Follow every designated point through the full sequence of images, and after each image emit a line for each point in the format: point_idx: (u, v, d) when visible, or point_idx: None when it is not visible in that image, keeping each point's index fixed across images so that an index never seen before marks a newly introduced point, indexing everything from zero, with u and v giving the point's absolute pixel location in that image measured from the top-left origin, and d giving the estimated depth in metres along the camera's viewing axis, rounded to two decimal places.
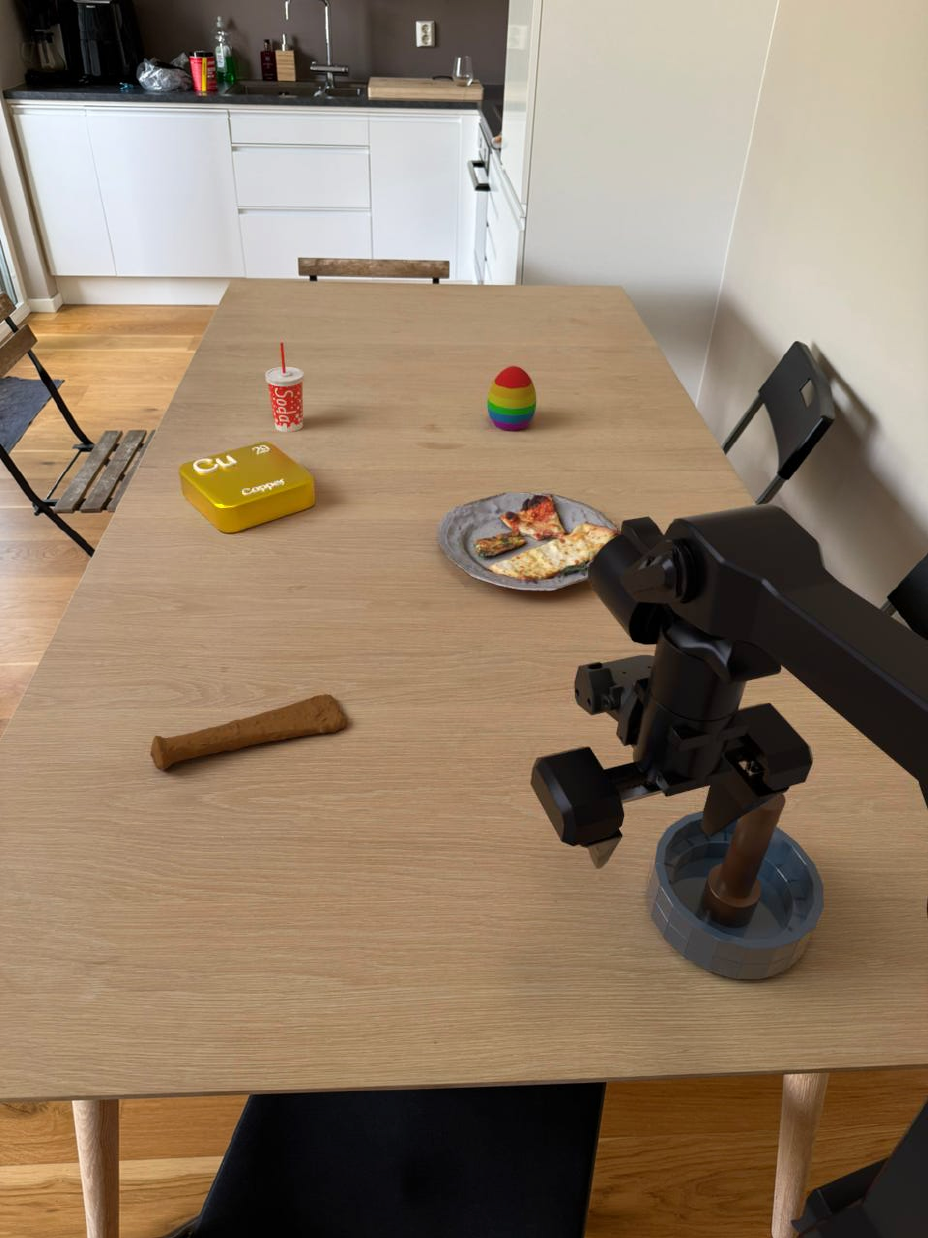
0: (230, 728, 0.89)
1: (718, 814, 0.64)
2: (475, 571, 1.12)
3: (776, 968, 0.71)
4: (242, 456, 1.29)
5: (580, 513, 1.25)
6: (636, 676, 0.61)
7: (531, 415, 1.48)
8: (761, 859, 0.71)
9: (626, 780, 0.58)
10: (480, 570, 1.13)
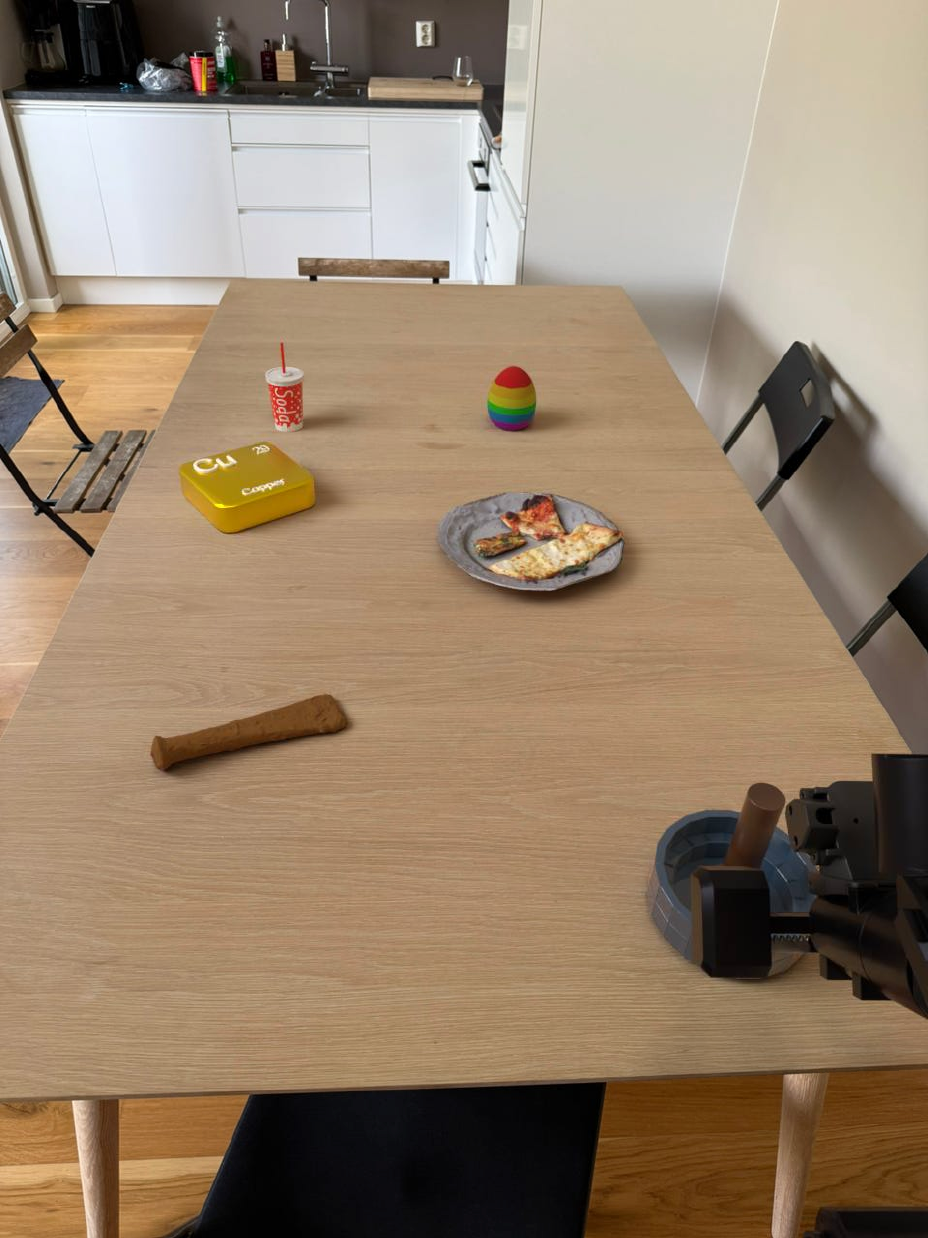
0: (230, 728, 0.89)
1: None
2: (475, 571, 1.12)
3: (776, 968, 0.71)
4: (242, 456, 1.29)
5: (580, 513, 1.25)
6: (866, 838, 0.51)
7: (531, 415, 1.48)
8: (761, 859, 0.71)
9: None
10: (480, 570, 1.13)
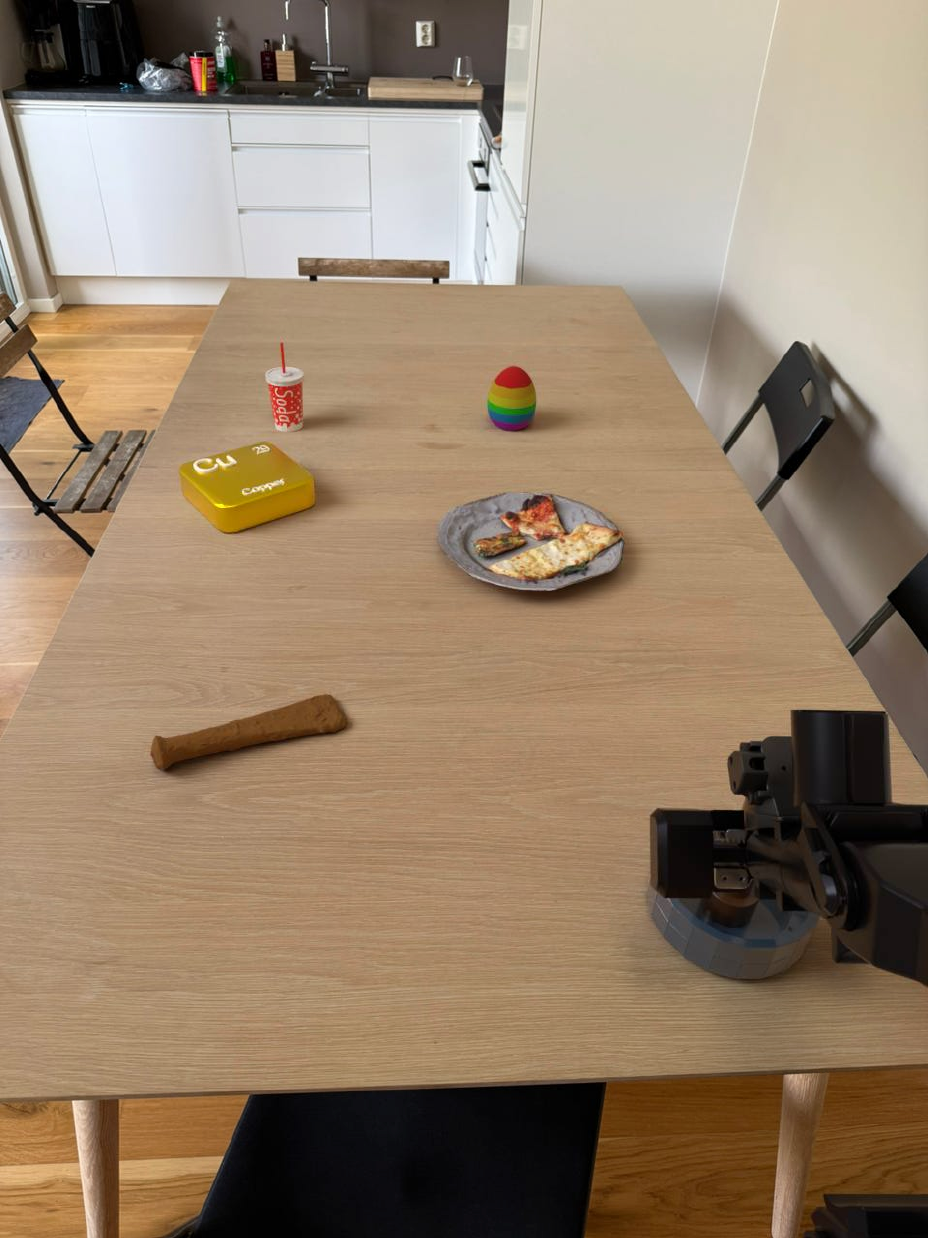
0: (230, 728, 0.89)
1: None
2: (475, 571, 1.12)
3: (776, 968, 0.71)
4: (242, 456, 1.29)
5: (580, 513, 1.25)
6: (791, 782, 0.62)
7: (531, 415, 1.48)
8: None
9: None
10: (480, 570, 1.13)
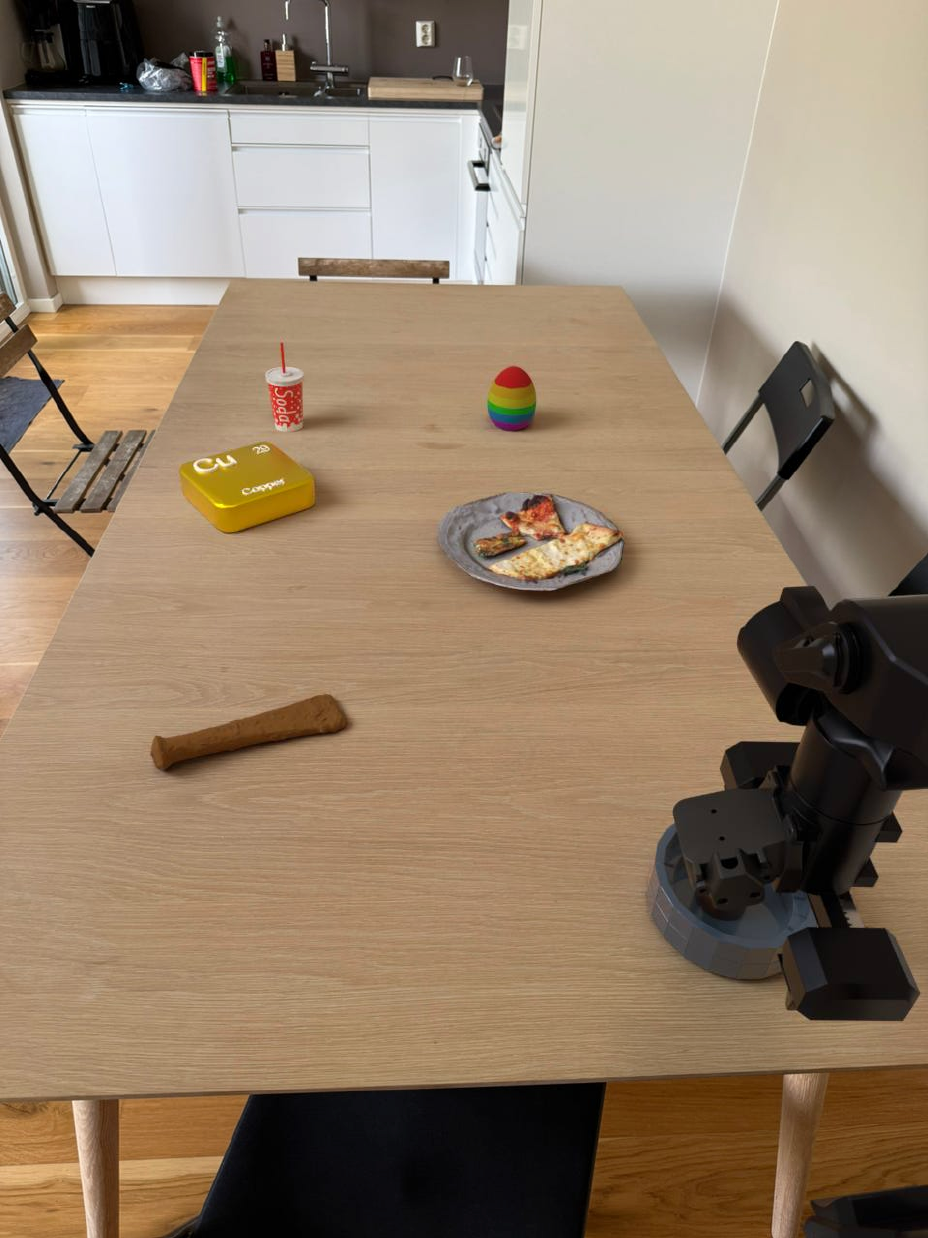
0: (230, 728, 0.89)
1: None
2: (475, 571, 1.12)
3: (776, 968, 0.71)
4: (242, 456, 1.29)
5: (580, 513, 1.25)
6: (737, 829, 0.51)
7: (531, 415, 1.48)
8: None
9: None
10: (480, 570, 1.13)
